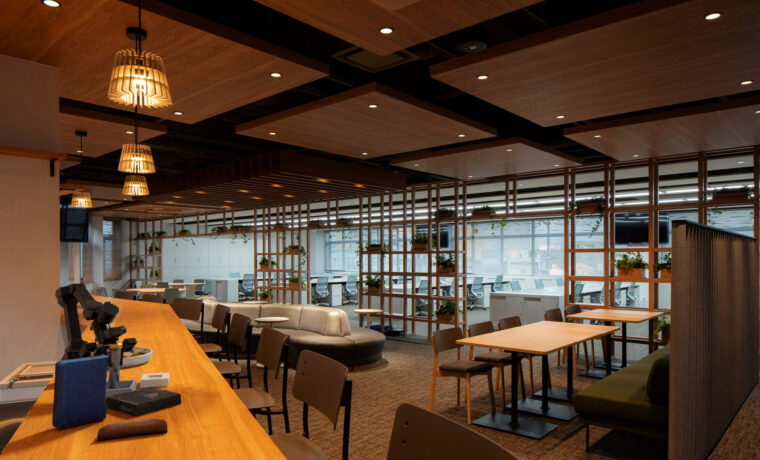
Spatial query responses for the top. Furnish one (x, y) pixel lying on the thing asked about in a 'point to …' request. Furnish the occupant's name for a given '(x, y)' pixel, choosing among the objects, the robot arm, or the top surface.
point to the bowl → (134, 356)
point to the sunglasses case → (132, 428)
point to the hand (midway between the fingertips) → (116, 366)
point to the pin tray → (121, 387)
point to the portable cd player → (143, 401)
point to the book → (80, 391)
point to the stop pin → (114, 365)
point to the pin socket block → (154, 380)
